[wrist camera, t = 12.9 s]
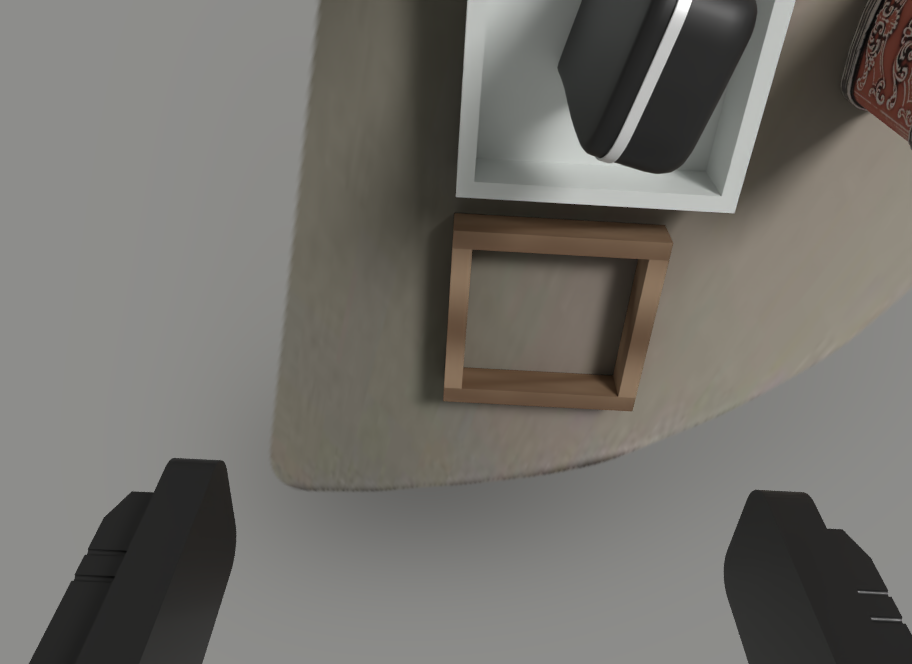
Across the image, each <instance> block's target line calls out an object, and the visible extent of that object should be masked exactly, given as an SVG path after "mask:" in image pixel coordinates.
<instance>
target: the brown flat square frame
mask: <svg viewBox="0 0 912 664" xmlns="http://www.w3.org/2000/svg"><path fill="white" fill-rule="evenodd" d="M672 246H673V242H672V240H671V237H670V235H669V233H668V231H667V229H666V227H665V225H653V224H636V223H618V222H601V221H584V220H567V219H549V218H532V217H515V216H498V215H480V214H463V213H454V226H453V243H452V259H451V276H450V293H449V310H448V326H447V343H446V360H445V377H444V397H443V401H450V402H468V403H487V404H506V405H524V406H543V407H562V408H580V409H599V410H618V411H633V407H634V402H635V398H636V394H637V390H638V386H639V382H640V378H641V374H642V370H643V365H644V361H645V357H646V353H647V349H648V345H649V341H650V337H651V333H652V328H653V324H654V320H655V316H656V312H657V308H658V304H659V300H660V296H661V291H662V287H663V283H664V279H665V275H666V271H667V267H668V263H669V259H670V254H671V250H672ZM472 250H489V251H506V252H524V253H541V254H559V255H577V256H594V257H612V258H629V259H638V262H637V267H636V272H635V276H634V281H633V286H632V290H631V295H630V299H629V304H628V309H627V313H626V318H625V322H624V327H623V332H622V336H621V341H620V345H619V350H618V355H617V359H616V364H615V368H614V373H613V376H610V375H592V374H574V373H555V372H537V371H518V370H500V369H482V368H463V364H464V351H465V338H466V325H467V312H468V299H469V286H470V272H471V259H472Z"/></svg>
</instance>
